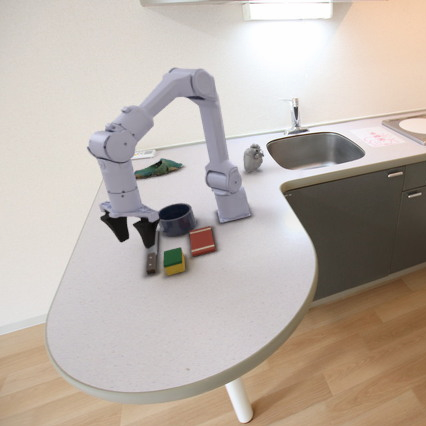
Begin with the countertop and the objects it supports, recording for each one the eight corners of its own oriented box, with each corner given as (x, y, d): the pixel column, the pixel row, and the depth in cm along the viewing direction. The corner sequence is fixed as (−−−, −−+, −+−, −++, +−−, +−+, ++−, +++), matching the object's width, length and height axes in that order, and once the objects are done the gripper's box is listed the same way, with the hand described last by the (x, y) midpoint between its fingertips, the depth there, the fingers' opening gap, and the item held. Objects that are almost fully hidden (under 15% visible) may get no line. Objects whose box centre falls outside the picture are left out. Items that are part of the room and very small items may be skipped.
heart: (252, 162, 135) (245, 137, 127) (270, 165, 131) (264, 140, 123) (239, 175, 129) (229, 149, 121) (257, 178, 125) (249, 153, 117)
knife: (158, 231, 94) (156, 227, 93) (156, 272, 78) (154, 268, 78) (150, 233, 93) (148, 229, 92) (147, 275, 78) (145, 271, 77)
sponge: (184, 256, 83) (180, 246, 81) (185, 270, 79) (181, 260, 77) (167, 261, 82) (163, 251, 80) (167, 275, 77) (163, 265, 75)
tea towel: (210, 227, 94) (210, 225, 94) (215, 250, 85) (214, 248, 85) (190, 232, 93) (189, 230, 92) (192, 256, 83) (191, 254, 83)
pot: (195, 215, 101) (190, 200, 98) (197, 231, 93) (192, 215, 90) (161, 222, 98) (156, 207, 95) (161, 239, 90) (155, 224, 87)
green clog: (133, 172, 131) (128, 160, 129) (183, 164, 138) (180, 153, 135) (131, 181, 124) (127, 169, 121) (184, 173, 131) (181, 161, 128)
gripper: (79, 190, 65) (97, 246, 71) (133, 200, 61) (148, 258, 67) (109, 179, 71) (124, 231, 77) (160, 188, 67) (172, 242, 73)
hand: (137, 243), depth 72 cm, fingers open, 7 cm apart
